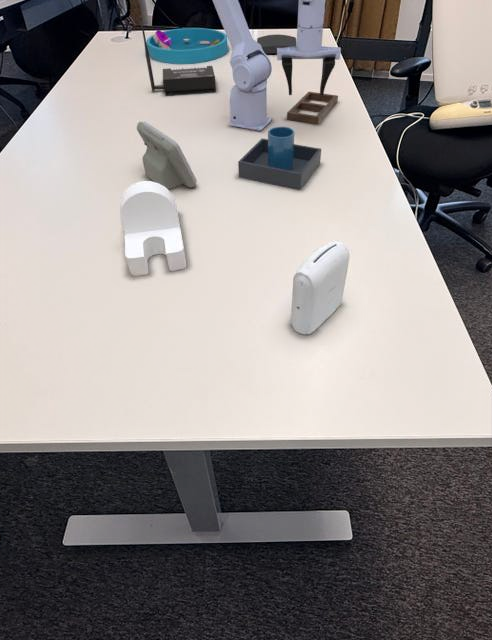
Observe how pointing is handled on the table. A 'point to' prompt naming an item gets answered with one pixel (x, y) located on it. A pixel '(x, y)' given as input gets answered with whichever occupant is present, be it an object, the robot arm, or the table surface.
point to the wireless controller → (183, 78)
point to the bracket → (151, 226)
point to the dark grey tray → (258, 169)
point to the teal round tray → (187, 45)
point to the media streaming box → (276, 42)
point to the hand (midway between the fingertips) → (305, 93)
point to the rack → (312, 108)
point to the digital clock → (164, 159)
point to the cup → (281, 148)
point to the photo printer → (319, 286)
